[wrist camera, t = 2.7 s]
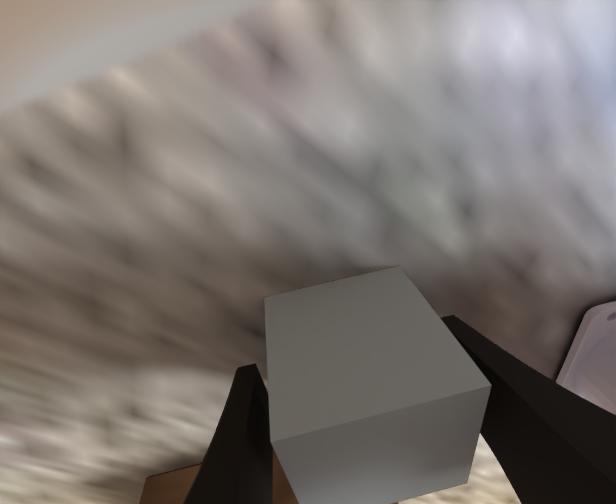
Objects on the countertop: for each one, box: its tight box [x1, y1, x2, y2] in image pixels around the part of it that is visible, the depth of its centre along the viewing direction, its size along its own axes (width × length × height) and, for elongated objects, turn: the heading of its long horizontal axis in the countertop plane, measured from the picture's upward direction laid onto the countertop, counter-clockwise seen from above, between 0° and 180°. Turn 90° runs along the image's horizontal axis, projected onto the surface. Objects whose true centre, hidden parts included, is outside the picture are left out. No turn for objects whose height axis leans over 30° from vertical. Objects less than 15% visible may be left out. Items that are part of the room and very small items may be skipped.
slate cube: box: [264, 266, 492, 504], centre depth 10 cm, size 5×5×5 cm
